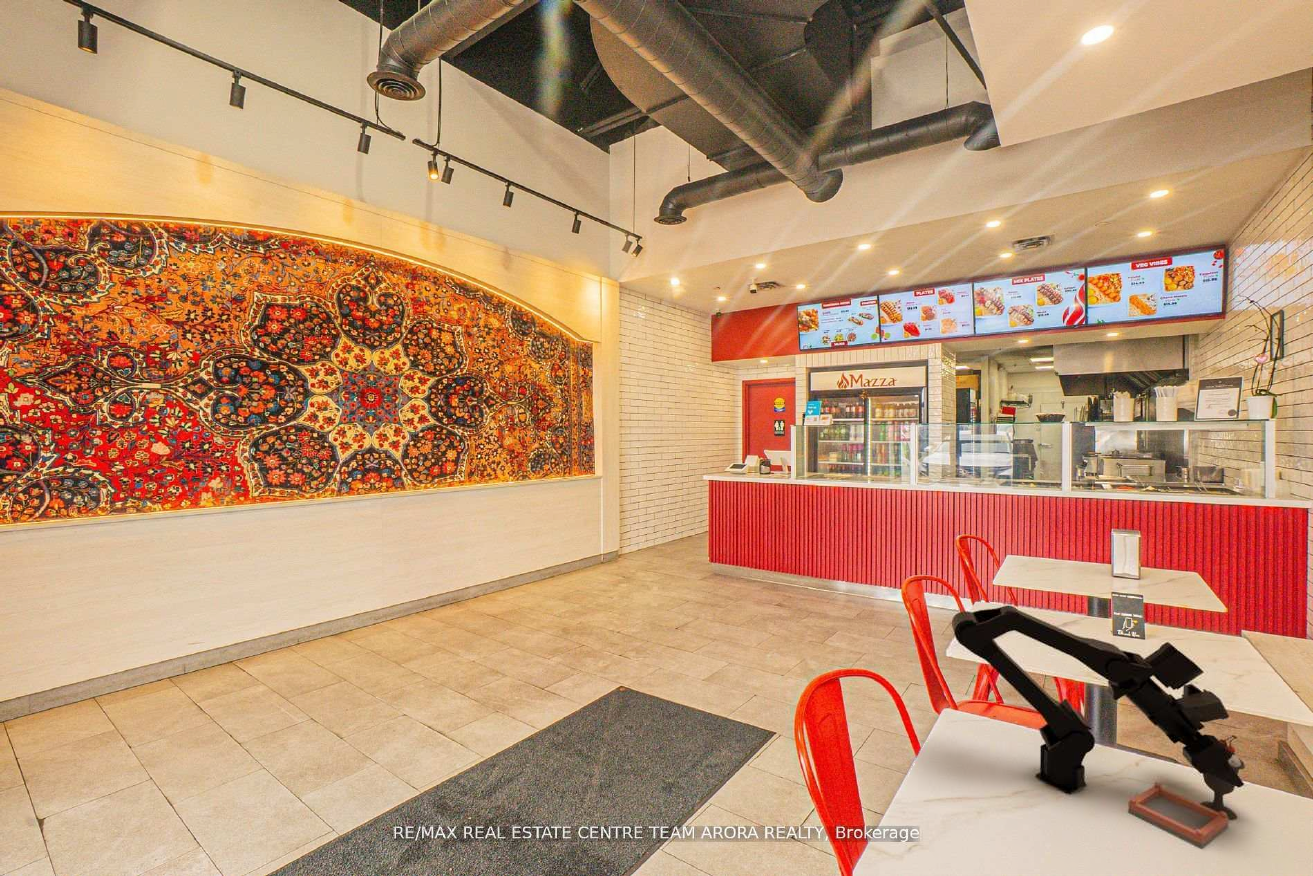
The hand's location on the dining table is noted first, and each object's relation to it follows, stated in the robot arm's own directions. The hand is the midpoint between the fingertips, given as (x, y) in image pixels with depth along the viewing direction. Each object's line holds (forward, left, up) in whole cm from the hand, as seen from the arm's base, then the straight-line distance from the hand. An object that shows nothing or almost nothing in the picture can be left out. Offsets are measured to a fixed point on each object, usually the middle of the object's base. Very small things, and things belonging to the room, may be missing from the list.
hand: (1227, 771), depth 109 cm
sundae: (-1, -1, -8) cm, 8 cm away
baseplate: (-3, -11, -8) cm, 14 cm away
